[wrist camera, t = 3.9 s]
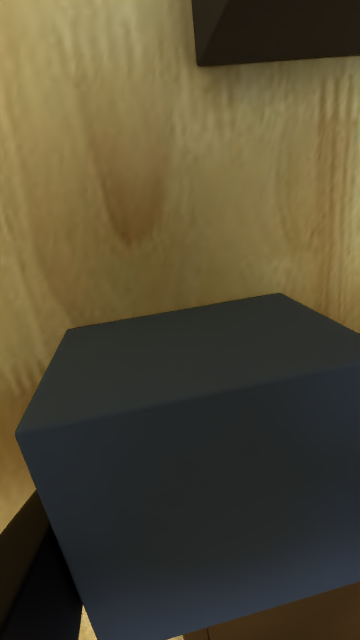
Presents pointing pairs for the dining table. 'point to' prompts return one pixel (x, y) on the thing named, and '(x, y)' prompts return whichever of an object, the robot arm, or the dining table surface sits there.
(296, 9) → the pad charcoal
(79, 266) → the dining table surface
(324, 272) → the dining table surface
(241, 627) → the dark wooden tray
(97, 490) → the slate blue square block
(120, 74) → the dining table surface
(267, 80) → the dining table surface
